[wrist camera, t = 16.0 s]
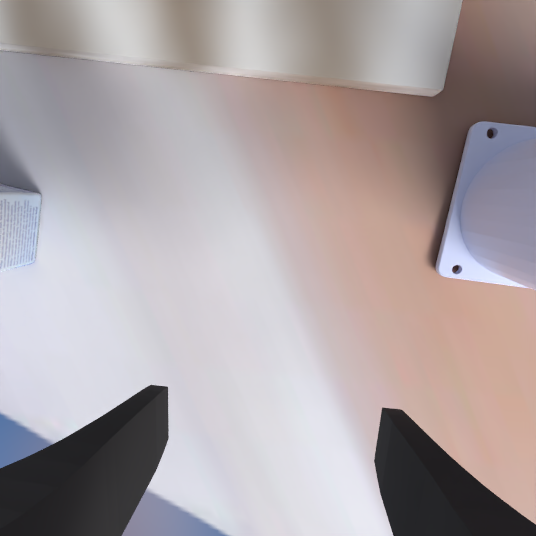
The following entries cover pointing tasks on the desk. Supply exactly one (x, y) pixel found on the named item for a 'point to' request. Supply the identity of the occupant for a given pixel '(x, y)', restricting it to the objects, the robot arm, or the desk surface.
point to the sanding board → (250, 38)
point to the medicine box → (18, 226)
